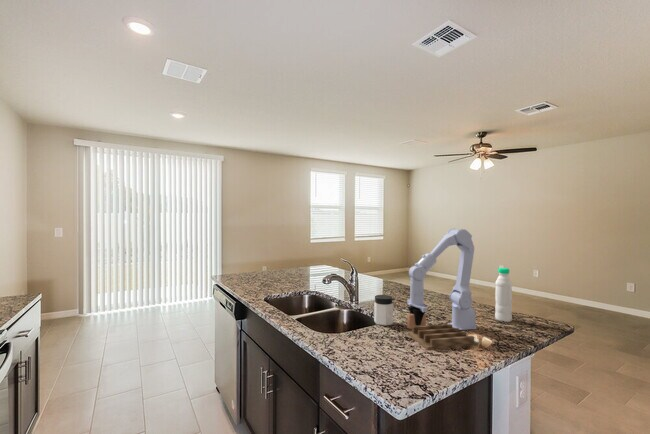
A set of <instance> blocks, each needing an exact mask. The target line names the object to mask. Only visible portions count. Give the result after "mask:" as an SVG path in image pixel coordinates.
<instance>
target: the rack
mask: <svg viewBox="0 0 650 434" xmlns="http://www.w3.org/2000/svg"><path fill="white" fill-rule="evenodd" d="M407 336H408V337H410V338H411V339H413V340H414V341H415V342H416V343H418V344H420V346H422V347H423V348H424V349H426V350H435V349H436V350H437V349H449V348H451V349H452V348H462V347H472V346H480V345H479V342H478V341H476V340H475V336H473V335H467V332H466V331H460V330H459V328H453V327H452V324H448V323H446V324H445V323H444V324H443V323H442V324H434V325H433V324H429V325H426V326H413V327H412V329H411V332H407Z"/></svg>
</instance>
